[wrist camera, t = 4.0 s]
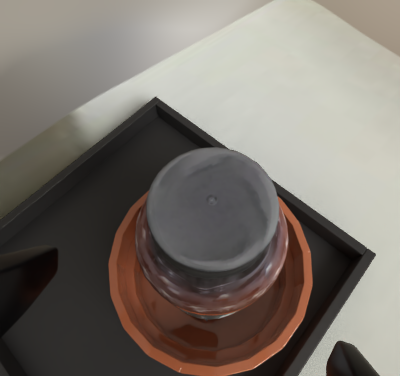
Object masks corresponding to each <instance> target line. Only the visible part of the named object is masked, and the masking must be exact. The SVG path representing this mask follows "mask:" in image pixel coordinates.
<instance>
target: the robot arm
mask: <svg viewBox="0 0 400 376" xmlns="http://www.w3.org/2000/svg"><path fill="white" fill-rule="evenodd" d="M57 270H58V249H57V248H56V247H53V246H50V245H47V244H45V245H40V246H36V247H32V248H28V249H23V250H19V251H15V252H11V253H7V254H3V255H0V339H1V338H2V336H3V335H4V334H5V333H6V332H7V331H8V330H9V329H10V328H11V327H12V326H13V325H14V324H15V323H16V322H17V321H18V320H19V319H20V318H21V317H22V316H23V314H24V313H25V312H26V311H27V310H28V309H29V307H30V306H31V305H32V304H33V302H34V301H35V300H36V299H37V297H38V296H39V295H40V294H41V292H42V291H43V290H44V289H45V288H46V286H47V285H48V284H49V283H50V281H51V280H52V279H53V278H54V276H55V275H56V273H57ZM326 374H327V376H380V375H379V374H378V373H377V372H376V371H375V370H374V368H373V367H372V366H371V365H370V364H369V362H368V361H367V360H366V359H365V358H364V356H363V355H362V354H361V353H360V352H359V350H358V349H357V348H356V347H355V346H354V345H352V344H349V343H346V342H343V341H338V342H337V343H336V344H335V346H334V348H333V350H332V353H331V355H330V357H329V359H328V361H327V366H326Z"/></svg>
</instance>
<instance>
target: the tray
mask: <svg viewBox="0 0 400 376" xmlns="http://www.w3.org/2000/svg"><path fill="white" fill-rule="evenodd" d="M210 147H218V148H225V149H228V148H227V147H225V146H224V145H222V144H221V143H220V142H218V141H217V140H215V139H214V138H213V137H211V136H210V135H209V134H207V133H206V132H204V131H203V130H202V129H200V128H199V127H197V126H196V125H195V124H193V123H192V122H190V121H189V120H188V119H186V118H185V117H183V116H182V115H181V114H179V113H178V112H176V111H175V110H174V109H172V108H171V107H169V106H168V105H167V104H165V103H164V102H162V101H161V100H160V99H158V98H157V97H155V98H153V99H152V100H151V101H150V102H148V103H147V104H146V105H145V106H143V107H142V108H141V109H140V110H138V111H137V112H136V113H134V114H133V115H132V116H131V117H129V118H128V119H127V120H126V121H124V122H123V123H122V124H121V125H119V126H118V127H117V128H116V129H114V130H113V131H112V132H111V133H109V134H108V135H107V136H106V137H104V138H103V139H102V140H100V141H99V142H98V143H97V144H95V145H94V146H93V147H92V148H90V149H89V150H88V151H87V152H85V153H84V154H83V155H82V156H80V157H79V158H78V159H77V160H75V161H74V162H73V163H72V164H70V165H69V166H68V167H67V168H65V169H64V170H63V171H61V172H60V173H59V174H58V175H56V176H55V177H54V178H53V179H51V180H50V181H49V182H48V183H46V184H45V185H44V186H43V187H41V188H40V189H39V190H38V191H36V192H35V193H34V194H33V195H31V196H30V197H29V198H27V199H26V200H25V201H24V202H22V203H21V204H20V205H19V206H17V207H16V208H15V209H14V210H12V211H11V212H10V213H9V214H7V215H6V216H5V217H4V218H2V219H1V220H0V255H3V254H7V253H11V252H15V251H19V250H23V249H28V248H32V247H36V246H40V245H45V244H47V245H50V246H53V247H56V248H57V249H58V270H57V273H56V275H55V276H54V278H53V279H52V280H51V281H50V283H49V284H48V285H47V286H46V288H45V289H44V290H43V291H42V292H41V294H40V295H39V296H38V297H37V299H36V300H35V301H34V302H33V304H32V305H31V306H30V307H29V309H28V310H27V311H26V312H25V313H24V314H23V316H22V317H21V318H20V319H19V320H18V321H17V322H16V323H15V324H14V325H13V326H12V327H11V328H10V329H9V330H8V331H7V332H6V333H5V334H4V335H3V336H2V338H1V339H0V376H197V375H190V374H182V373H179V372H177V371H175V370H173V369H171V368H169V367H168V366H166V365H164V364H162V363H160V362H158V361H157V360H155V359H153V358H151V357H149V356H148V355H146V353H145V352H144V351H143V350H142V349H141V348H140V347H139V345H138V344H137V343H136V342H135V341H134V340H133V339H132V337H131V336H130V335H129V334H128V333H127V332H126V331H125V329H124V328H123V326H122V323H121V321H120V318H119V316H118V314H117V311H116V309H115V306H114V304H113V301H112V299H111V295H110V281H109V266H108V264H109V258H110V254H111V250H112V246H113V242H114V238H115V234H116V231H117V230H118V228H119V226H120V225H121V223H122V221H123V220H124V218H125V216H126V215H127V213H128V211H129V210H130V208H131V207H132V206H133V205H134V204H135V203H136V202H137V201H138V200H139V199H140V198H141V197H142V196H143V195H145V194H146V193H147V192H148V191H149V189H150V187H151V184H152V182H153V181H154V179H155V178H156V176H157V174H158V173H159V172H160V171H161V170H162V168H163V167H164V166H166V165H167V164H168V163H169V162H170V161H171V160H173V159H174V158H176V157H177V156H179V155H181V154H184V153H186V152H188V151H191V150H195V149H200V148H210ZM272 182H273V184H274V187H275V189H276V192H277V196H278V197H279V198H281V199H282V201H283V202H284V203H285V205H286V206H287V207H288V208H289V210H290V211H291V212H292V214H293V215H294V216H295V218H296V219H297V220H298V221H299V223H300V225H301V228H302V231H303V233H304V236H305V238H306V241H307V244H308V246H309V249H310V252H311V265H312V281H313V285H312V290H311V294H310V297H309V301H308V305H307V309H306V312H305V316H304V318H303V321H302V322H301V323H300V325H299V326H298V328H297V329H296V331H295V332H294V334H293V335H292V337H291V338H290V339H289V341H288V342H287V344H286V345H285V347H284V348H283V349H282V350H280V351H279V352H277V353H276V354H274V355H273V356H272V357H270V358H269V359H267V360H266V361H264V362H263V363H262V364H260V365H259V366H257V367H256V368H254V369H252V370H248V371H244V372H240V373H236V374H232V375H228V376H298V375H299V373H300V372H301V370H302V369H303V367H304V366H305V364H306V363H307V361H308V360H309V358H310V356H311V355H312V353H313V352H314V350H315V349H316V347H317V346H318V344H319V342H320V341H321V339H322V338H323V336H324V335H325V333H326V332H327V330H328V329H329V327H330V325H331V324H332V322H333V321H334V319H335V318H336V316H337V315H338V313H339V312H340V310H341V308H342V307H343V305H344V304H345V302H346V301H347V299H348V298H349V296H350V295H351V293H352V291H353V290H354V288H355V287H356V285H357V284H358V282H359V281H360V279H361V277H362V276H363V274H364V273H365V271H366V270H367V268H368V267H369V265H370V264H371V262H372V260H373V259H374V257H375V256H376V254H375V253H373V252H372V251H371V250H369V249H367V248H366V247H365V246H364V245H362V244H361V243H360V242H358V241H357V240H355V239H354V238H353V237H351V236H350V235H348V234H347V233H346V232H344V231H343V230H341V229H340V228H339V227H337V226H336V225H334V224H333V223H332V222H330V221H329V220H327V219H326V218H325V217H323V216H322V215H320V214H319V213H318V212H316V211H315V210H313V209H312V208H311V207H309V206H308V205H306V204H305V203H304V202H302V201H301V200H299V199H298V198H297V197H295V196H294V195H292V194H291V193H290V192H288V191H287V190H285V189H284V188H283V187H281V186H280V185H278V184H277V183H276V182H274V181H273V180H272Z"/></svg>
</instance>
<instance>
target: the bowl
mask: <svg viewBox="0 0 400 376" xmlns="http://www.w3.org/2000/svg"><path fill="white" fill-rule="evenodd" d="M148 192H149V191H148ZM148 192H147V193H146V194H145V195H143V196H142V197H141V198H140V199H139V200H138V201H137V202H136V203H135V204H134V205H133V206H132V207H131V208H130V210H129V211H128V213H127V215H126V216H125V218H124V220H123V221H122V223H121V225H120V226H119V228H118V230H117V231H116V234H115V238H114V242H113V246H112V250H111V254H110V258H109V264H108V266H109V281H110V295H111V299H112V301H113V304H114V306H115V309H116V311H117V314H118V316H119V318H120V321H121V323H122V326H123V328H124V329H125V331H126V332H127V333H128V334H129V335H130V336H131V337H132V339H133V340H134V341H135V342H136V343H137V344H138V345H139V347H140V348H141V349H142V350H143V351H144V352H145V353H146V355H148V356H149V357H151V358H153V359H155V360H157V361H158V362H160V363H162V364H164V365H166V366H168V367H169V368H171V369H173V370H175V371H177V372H179V373H182V374H190V375H197V376H228V375H232V374H236V373H240V372H244V371H248V370H252V369H254V368H256V367H257V366H259V365H260V364H262V363H263V362H264V361H266V360H267V359H269V358H270V357H272V356H273V355H274V354H276V353H277V352H279V351H280V350H282V349H283V348H284V347H285V345H286V344H287V342H288V341H289V339H290V338H291V337H292V335H293V334H294V332H295V331H296V329H297V328H298V326H299V325H300V323H301V322H302V321H303V318H304V316H305V312H306V309H307V305H308V301H309V297H310V294H311V290H312V285H313V281H312V265H311V252H310V249H309V246H308V244H307V241H306V238H305V236H304V233H303V231H302V228H301V225H300V223H299V221H298V220H297V219H296V218H295V216H294V215H293V214H292V212H291V211H290V210H289V208H288V207H287V206H286V205H285V203H284V202H283V201H282V199H281V198H279V197H278V196H277V197H278V201H279V204H280V206H281V208H282V211H283V213H284V216H285V219H286V223H287V229H288V248H287V254H286V258H285V261H284V264H283V267H282V269H281V272H280V273H279V275H278V277H277V279H276V280H275V282H274V283H273V285H272V286H271V287H270V288H269V289H268V291H267V292H266V293H265V294H264V295H263V296H261V297H260V298H259V299H257V300H256V301H255V302H253V303H252V304H250V305H249V306H247V307H245V308H243V309H241V310H239V311H237V312H235V313H233V314H231V315H228V316H226V317H223V318H219V319H211V320H208V321H206V320H205V319H201V318H196V317H193V316H191V315H189V314H186V313H185V312H183V311H182V310H180V309H179V308H177V307H175V306H174V305H172V304H171V303H169V302H168V301H167V300H166V299H164V298H163V297H162V296H161V295H159V293H158V292H157V291H156V290H154V289H153V287H152V286H151V284H150V283H149V282H148V280H147V279H146V278H145V276H144V274H143V272H142V269H141V267H140V264H139V261H138V258H137V255H136V250H135V249H136V248H135V228H136V222H137V218H138V215H139V213H140V209H141V207H142V205H143V204H144V202H145V200H146V198H147V195H148Z"/></svg>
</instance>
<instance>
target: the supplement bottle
mask: <svg viewBox="0 0 400 376" xmlns="http://www.w3.org/2000/svg"><path fill="white" fill-rule="evenodd" d="M135 248H136V249H135V250H136V255H137V258H138V261H139V264H140V267H141V269H142V272H143V274H144V276H145V278H146V279H147V280H148V282H149V283H150V284H151V286H152V287H153V289H154V290H156V291H157V292H158V293H159V295H161V296H162V297H163V298H164V299H166V300H167V301H168V302H169V303H171V304H172V305H174V306H175V307H177V308H179V309H180V310H182V311H183V312H185V313H186V314H189V315H191V316H193V317H196V318H201V319H205V320H206V321H208V320H211V319H219V318H223V317H226V316H228V315H231V314H233V313H235V312H237V311H239V310H241V309H243V308H245V307H247V306H249V305H250V304H252V303H253V302H255V301H256V300H257V299H259V298H260V297H261V296H263V295H264V294H265V293H266V292H267V291H268V289H269V288H270V287H271V286H272V285H273V283H274V282H275V280H276V279H277V277H278V275H279V273H280V272H281V269H282V267H283V264H284V261H285V258H286V254H287V248H288V229H287V223H286V219H285V216H284V213H283V211H282V208H281V206H280V204H279V201H278V197H277V192H276V189H275V187H274V184H273V182H272V180H271V179H270V177H269V176H268V174H267V173H266V172H265V171H264V170H263V169H262V167H261V166H260V165H259V164H258V163H257V162H255V161H253V160H251V159H250V158H249V157H247V156H245V155H244V154H242V153H239V152H237V151H234V150H229V149H225V148H218V147H210V148H200V149H195V150H191V151H188V152H186V153H184V154H181V155H179V156H177V157H176V158H174V159H173V160H171V161H170V162H169V163H168V164H167V165H166V166H164V167H163V168H162V170H161V171H160V172H159V173H158V174H157V176H156V178H155V179H154V181H153V182H152V184H151V187H150V189H149V192H148V195H147V198H146V200H145V202H144V204H143V205H142V207H141V209H140V213H139V215H138V218H137V222H136V228H135Z"/></svg>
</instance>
